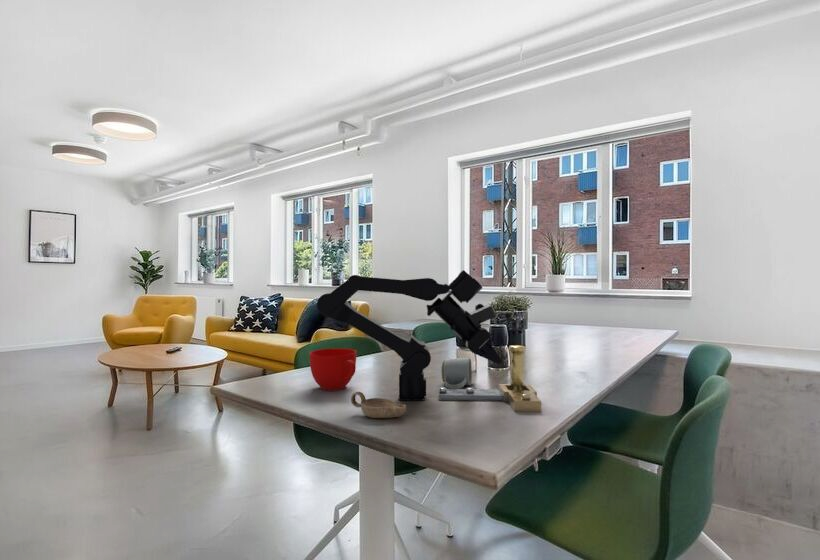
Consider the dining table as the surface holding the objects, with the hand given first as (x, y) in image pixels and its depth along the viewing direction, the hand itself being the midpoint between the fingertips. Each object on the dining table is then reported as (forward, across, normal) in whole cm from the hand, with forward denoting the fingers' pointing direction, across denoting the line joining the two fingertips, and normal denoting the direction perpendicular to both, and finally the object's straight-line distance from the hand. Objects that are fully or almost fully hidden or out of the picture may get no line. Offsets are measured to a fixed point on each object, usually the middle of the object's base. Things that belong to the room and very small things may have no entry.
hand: (497, 359), depth 111 cm
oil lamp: (-13, -15, +28) cm, 34 cm away
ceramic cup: (-23, +9, +37) cm, 45 cm away
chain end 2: (+10, -4, +3) cm, 12 cm away
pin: (+10, 0, +3) cm, 11 cm away
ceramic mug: (+1, +13, +13) cm, 18 cm away
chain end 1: (+5, 0, +9) cm, 10 cm away
